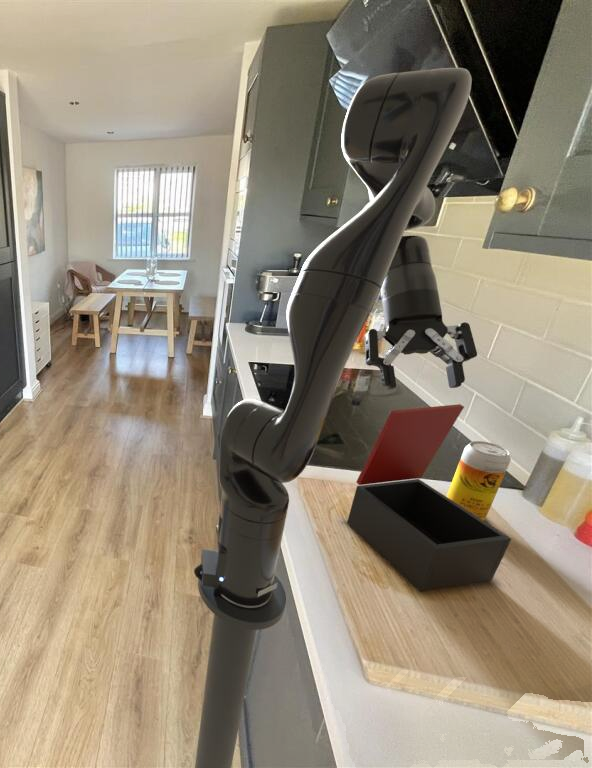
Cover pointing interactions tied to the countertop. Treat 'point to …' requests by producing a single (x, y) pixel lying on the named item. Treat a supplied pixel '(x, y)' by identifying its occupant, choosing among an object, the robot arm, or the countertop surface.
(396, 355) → the robot arm
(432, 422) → the lid
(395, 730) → the countertop surface
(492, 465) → the beer can
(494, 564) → the black storage bin
